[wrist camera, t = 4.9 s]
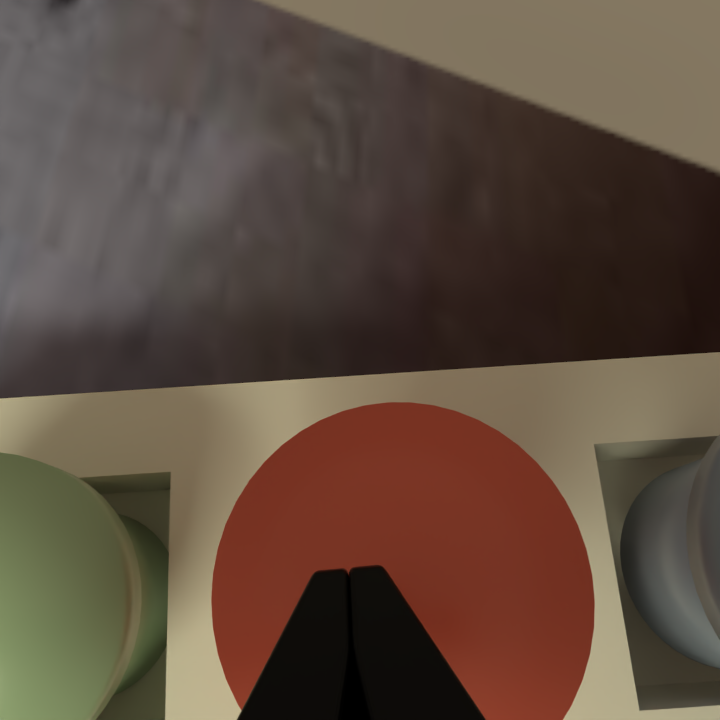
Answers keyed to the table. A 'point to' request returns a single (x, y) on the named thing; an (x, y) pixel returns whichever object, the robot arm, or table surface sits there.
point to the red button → (416, 551)
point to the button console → (336, 394)
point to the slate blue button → (678, 557)
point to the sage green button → (73, 595)
